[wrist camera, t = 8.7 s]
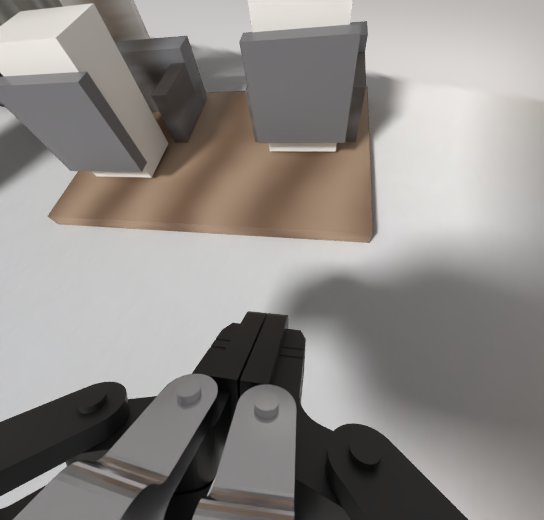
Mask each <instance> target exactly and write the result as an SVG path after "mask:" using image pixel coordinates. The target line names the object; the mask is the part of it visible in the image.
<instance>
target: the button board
mask: <svg viewBox="0 0 544 520" xmlns="http://www.w3.org/2000/svg"><path fill="white" fill-rule="evenodd" d="M59 1H60V2H61V4H62V6H63V7H64V6H73V5H82V4H91V3H94V5H95V7H96V8H97V10H98V12H99V14H100V16H101V18H102V20H103V22H104V23H105V25H106V27H107V29H108V31H109V33H110V35H111V37H112V38H113V40H114V42H115V44H116V46H117V48H118V50H119V52H120V54H121V55H122V57H123V59H124V61H125V63H126V65H127V67H128V69H129V70H130V72H131V74H132V76H133V78H134V80H135V82H136V84H137V85H138V87H139V89H140V91H141V93H142V95H143V97H144V99H145V100H146V102H147V104H148V106H149V108H150V110H151V112H152V114H153V115H154V117H155V119H156V121H157V123H158V125H159V127H160V129H161V130H162V132H163V134H164V136H165V138H166V140H167V142H168V145H167V147H166V149H165V152H164V154H163V156H162V158H161V160H160V162H159V164H158V166H157V168H156V170H155V172H154V174H153V176H152V178H147V177H100V176H96V175H95V174H94V173H93V172H92V171H78V172H77V174H76V175H75V177H74V178H73V180H72V181H71V183H70V184H69V186H68V187H67V189H66V190H65V191H64V193H63V194H62V196H61V197H60V199H59V200H58V202H57V203H56V205H55V206H54V208H53V209H52V211H51V212H50V213H49V215H48V217H49V218H51V219H52V220H53V221H55V222H56V223H57V224H66V225H82V226H99V227H116V228H133V229H150V230H166V231H183V232H200V233H217V234H234V235H250V236H267V237H284V238H301V239H318V240H334V241H351V242H368V243H370V240H371V237H372V235H373V224H372V198H371V171H370V145H369V118H368V92H367V86H366V73H365V47H366V41H367V35H368V33H367V21H365V22H352V23H350V24H360V27H361V34H360V41H359V48H358V55H357V62H356V69H355V76H354V83H353V90H352V97H351V104H350V110H349V117H348V124H347V131H346V138H345V143H337V144H336V152H331V151H270V149H269V143H258V139H257V133H256V128H255V123H254V117H253V112H252V107H251V101H250V96H249V91H248V85H247V88H246V91H235V92H210V93H206V92H205V89H204V86H203V83H202V80H201V77H200V74H199V71H198V68H197V65H196V62H195V59H194V56H193V53H192V49H191V46H190V43H189V41H188V37H187V36H180V37H166V38H154V39H150V37H149V35H148V33H147V30H146V28H145V26H144V23H143V21H142V19H141V16H140V14H139V12H138V10H137V7H136V5H135V3H134V0H59Z"/></svg>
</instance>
